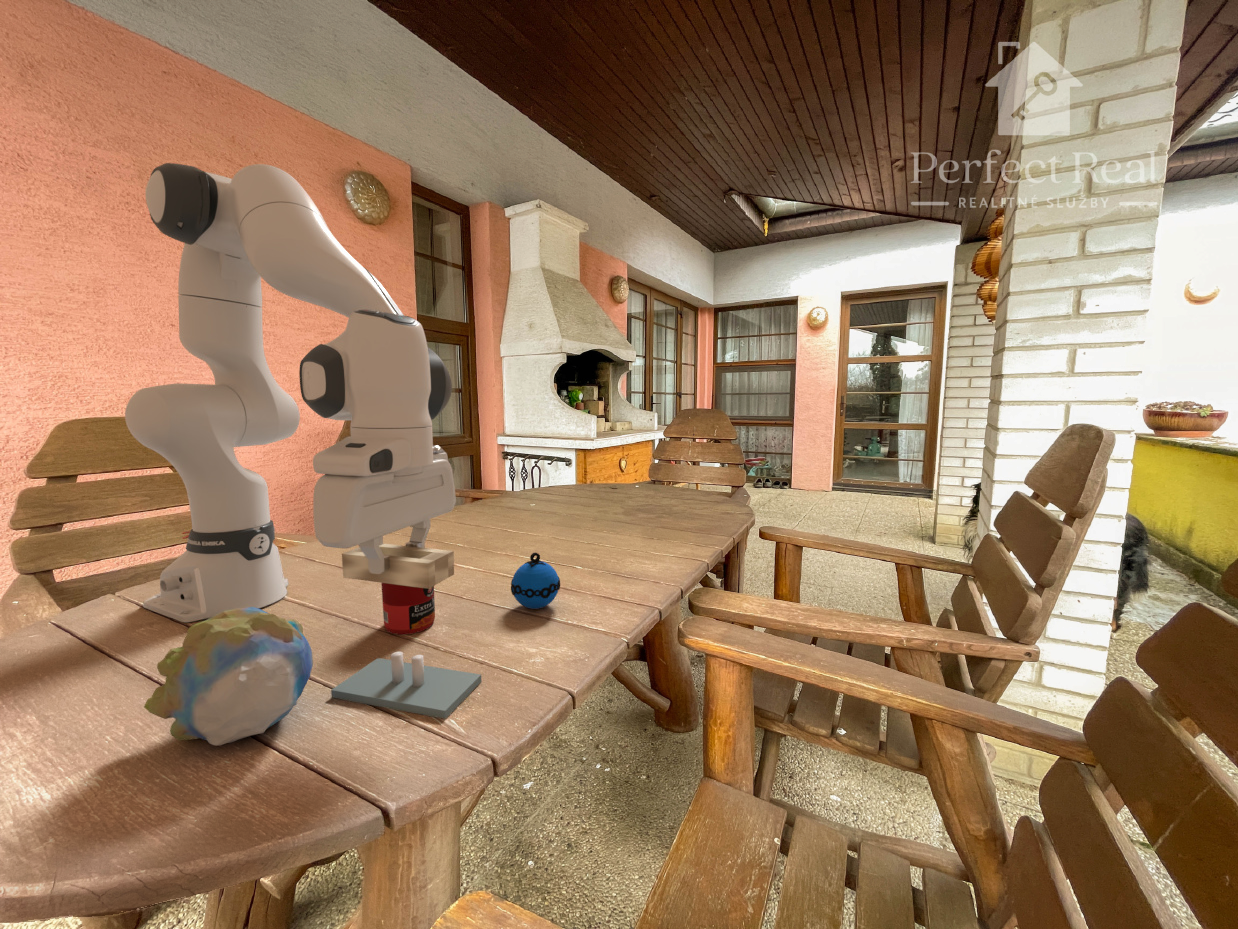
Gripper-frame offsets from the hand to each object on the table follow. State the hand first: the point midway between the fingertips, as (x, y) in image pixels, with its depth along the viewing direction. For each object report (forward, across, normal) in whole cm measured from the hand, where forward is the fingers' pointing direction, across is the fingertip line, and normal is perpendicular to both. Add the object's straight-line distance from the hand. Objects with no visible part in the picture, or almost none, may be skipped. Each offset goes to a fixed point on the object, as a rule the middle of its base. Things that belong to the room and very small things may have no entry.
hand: (398, 563), depth 61 cm
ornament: (+17, -28, +5) cm, 33 cm away
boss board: (+17, 0, 0) cm, 17 cm away
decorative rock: (+17, +11, -14) cm, 24 cm away
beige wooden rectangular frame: (+2, 0, 0) cm, 2 cm away
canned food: (+17, -16, -12) cm, 26 cm away
